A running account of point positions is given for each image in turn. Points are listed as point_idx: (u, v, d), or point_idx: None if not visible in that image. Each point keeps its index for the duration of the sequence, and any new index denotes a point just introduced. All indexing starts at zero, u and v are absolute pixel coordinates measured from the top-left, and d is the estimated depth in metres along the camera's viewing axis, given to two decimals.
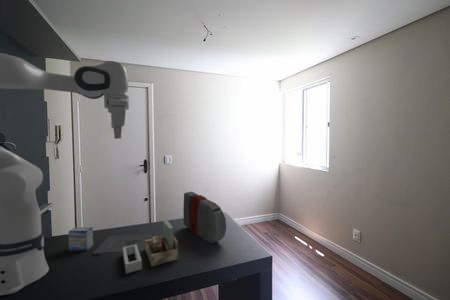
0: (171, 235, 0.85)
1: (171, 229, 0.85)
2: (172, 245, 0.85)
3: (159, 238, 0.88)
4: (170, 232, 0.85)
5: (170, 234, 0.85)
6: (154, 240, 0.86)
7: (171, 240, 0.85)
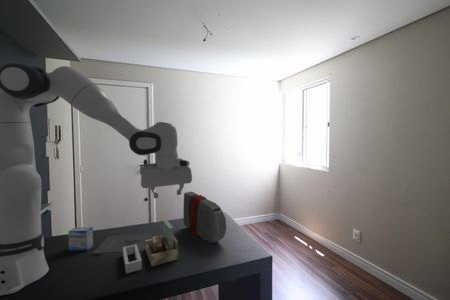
0: (171, 235, 0.85)
1: (171, 229, 0.85)
2: (172, 245, 0.85)
3: (159, 238, 0.88)
4: (170, 232, 0.85)
5: (170, 234, 0.85)
6: (154, 240, 0.86)
7: (171, 240, 0.85)
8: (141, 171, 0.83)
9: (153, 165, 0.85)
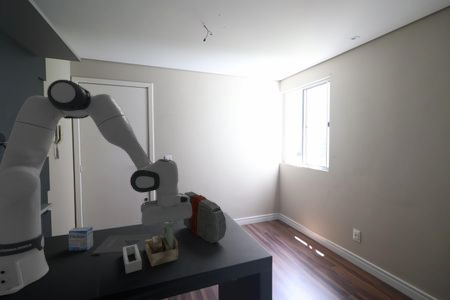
0: (171, 235, 0.85)
1: (171, 229, 0.85)
2: (172, 245, 0.85)
3: (159, 238, 0.88)
4: (170, 232, 0.85)
5: (170, 234, 0.85)
6: (154, 240, 0.86)
7: (171, 240, 0.85)
8: (142, 209, 0.84)
9: (154, 202, 0.86)
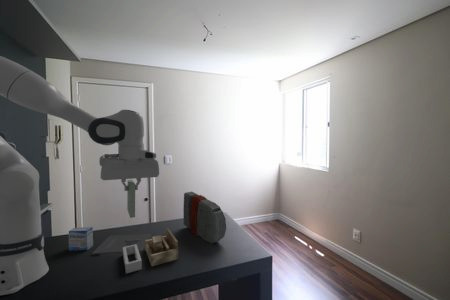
0: (132, 192, 0.78)
1: (133, 186, 0.77)
2: (133, 203, 0.78)
3: (159, 238, 0.88)
4: (131, 189, 0.77)
5: (131, 191, 0.77)
6: (154, 240, 0.86)
7: (132, 198, 0.78)
8: (101, 161, 0.76)
9: (115, 156, 0.78)
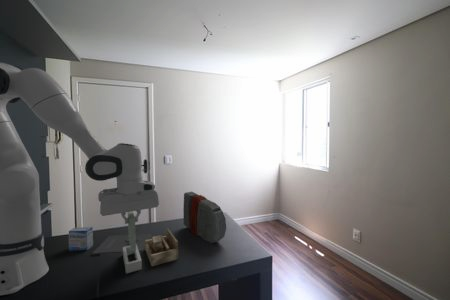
0: (133, 226, 0.78)
1: (132, 220, 0.78)
2: (134, 237, 0.78)
3: (159, 238, 0.88)
4: (131, 223, 0.77)
5: (131, 225, 0.77)
6: (154, 240, 0.86)
7: (133, 232, 0.78)
8: (100, 197, 0.76)
9: (114, 190, 0.78)
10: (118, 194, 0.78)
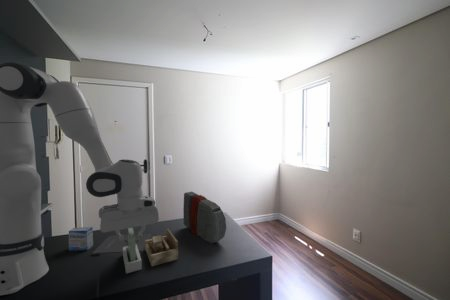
0: (133, 245, 0.78)
1: (133, 239, 0.78)
2: (134, 256, 0.79)
3: (159, 238, 0.88)
4: (132, 242, 0.78)
5: (131, 244, 0.78)
6: (154, 240, 0.86)
7: (133, 251, 0.78)
8: (100, 214, 0.77)
9: (114, 206, 0.79)
10: (118, 211, 0.78)
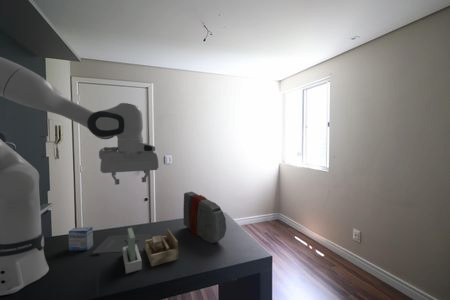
0: (132, 246, 0.78)
1: (132, 239, 0.78)
2: (134, 256, 0.79)
3: (159, 238, 0.88)
4: (131, 242, 0.78)
5: (131, 245, 0.78)
6: (154, 240, 0.86)
7: (132, 251, 0.78)
8: (100, 154, 0.77)
9: (114, 149, 0.79)
10: (118, 153, 0.79)
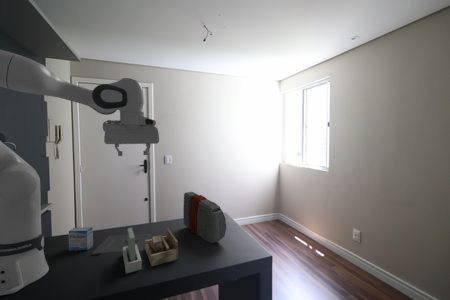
0: (132, 246, 0.78)
1: (132, 239, 0.78)
2: (134, 256, 0.79)
3: (159, 238, 0.88)
4: (131, 242, 0.78)
5: (131, 245, 0.78)
6: (154, 240, 0.86)
7: (132, 251, 0.78)
8: (104, 127, 0.81)
9: (117, 122, 0.83)
10: (121, 125, 0.83)
